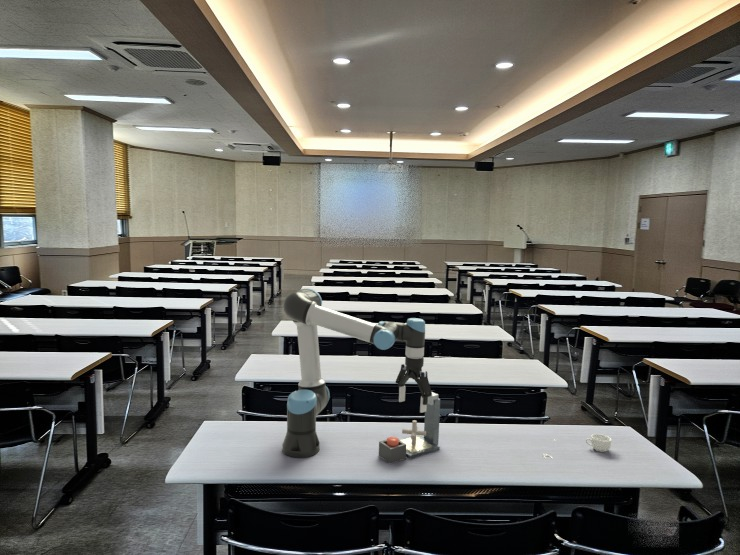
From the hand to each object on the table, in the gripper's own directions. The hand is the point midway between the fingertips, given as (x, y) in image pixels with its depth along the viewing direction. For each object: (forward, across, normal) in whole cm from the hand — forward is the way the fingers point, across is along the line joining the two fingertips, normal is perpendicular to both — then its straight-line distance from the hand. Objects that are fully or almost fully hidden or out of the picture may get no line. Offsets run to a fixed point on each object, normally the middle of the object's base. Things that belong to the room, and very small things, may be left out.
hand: (412, 406), depth 201 cm
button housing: (+18, -2, +11) cm, 22 cm away
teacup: (+18, -43, -68) cm, 83 cm away
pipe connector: (+17, 0, -2) cm, 17 cm away
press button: (+14, -2, +11) cm, 18 cm away
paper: (+18, -34, -48) cm, 62 cm away
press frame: (+18, 0, -3) cm, 19 cm away
